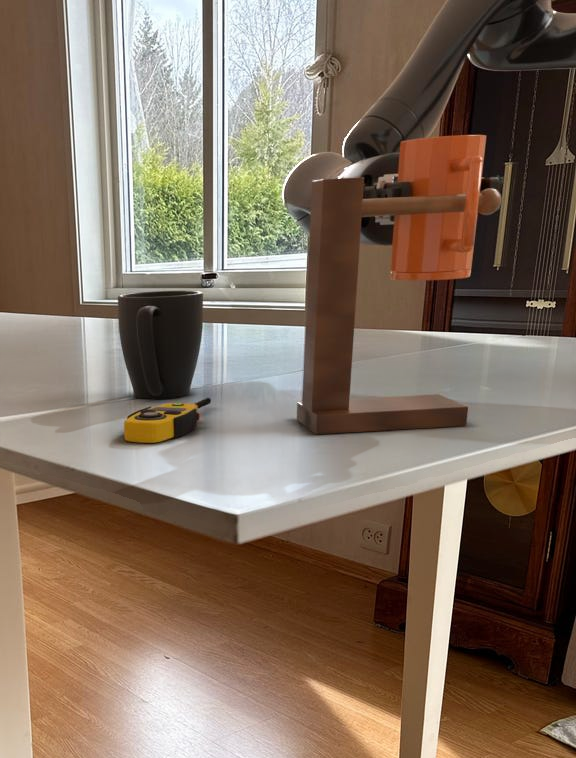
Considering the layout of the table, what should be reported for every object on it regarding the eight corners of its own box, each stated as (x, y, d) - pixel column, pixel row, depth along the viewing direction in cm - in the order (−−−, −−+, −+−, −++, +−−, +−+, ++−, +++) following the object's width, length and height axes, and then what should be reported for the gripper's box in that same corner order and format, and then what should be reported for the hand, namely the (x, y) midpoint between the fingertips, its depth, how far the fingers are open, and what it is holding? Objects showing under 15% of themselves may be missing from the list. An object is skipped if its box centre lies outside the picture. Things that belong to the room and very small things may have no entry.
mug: (100, 408, 86) (96, 301, 82) (132, 387, 97) (129, 291, 93) (186, 409, 84) (185, 299, 80) (209, 387, 95) (209, 289, 91)
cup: (379, 277, 78) (389, 144, 73) (451, 273, 78) (465, 140, 74) (424, 284, 68) (439, 132, 64) (506, 280, 68) (526, 128, 64)
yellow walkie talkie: (110, 417, 72) (184, 386, 84) (111, 441, 73) (185, 407, 85) (166, 420, 70) (234, 388, 82) (167, 445, 71) (234, 409, 83)
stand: (458, 410, 78) (485, 173, 70) (490, 424, 72) (523, 168, 65) (296, 420, 77) (306, 182, 70) (315, 434, 72) (329, 177, 64)
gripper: (303, 159, 84) (361, 144, 68) (458, 152, 84) (550, 135, 69) (299, 248, 87) (353, 253, 71) (449, 241, 87) (534, 243, 72)
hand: (449, 195), depth 70 cm, fingers closed on cup, 6 cm apart
